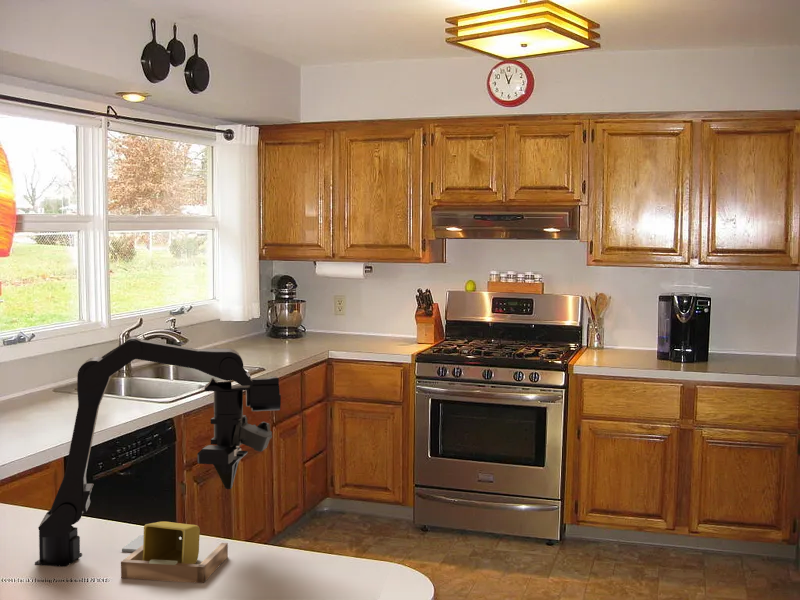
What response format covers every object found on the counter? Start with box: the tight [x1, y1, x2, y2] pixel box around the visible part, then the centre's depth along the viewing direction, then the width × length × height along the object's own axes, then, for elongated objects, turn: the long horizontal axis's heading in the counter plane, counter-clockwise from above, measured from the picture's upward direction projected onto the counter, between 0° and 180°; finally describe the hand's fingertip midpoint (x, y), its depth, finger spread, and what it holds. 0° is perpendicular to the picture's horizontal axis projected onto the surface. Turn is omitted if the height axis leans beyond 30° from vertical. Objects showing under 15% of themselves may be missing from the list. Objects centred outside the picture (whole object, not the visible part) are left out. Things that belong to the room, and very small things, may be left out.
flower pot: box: [142, 521, 201, 564], centre depth 161 cm, size 9×9×9 cm
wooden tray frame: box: [120, 542, 229, 584], centre depth 160 cm, size 13×16×3 cm
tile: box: [121, 534, 144, 553], centre depth 172 cm, size 8×8×1 cm
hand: (228, 488), depth 171 cm, fingers closed
